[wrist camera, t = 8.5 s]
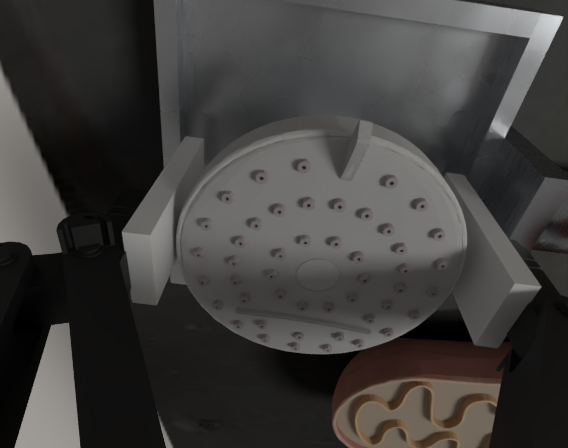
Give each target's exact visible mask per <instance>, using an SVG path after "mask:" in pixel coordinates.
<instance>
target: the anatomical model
mask: <svg viewBox="0 0 568 448" xmlns="http://www.w3.org/2000/svg"><path fill="white" fill-rule="evenodd" d="M511 348H512V345H511V343H510V342H502V343H501V345H500V346H499V347H498V348H492V347H484V346H476V345H474V343H473V342H464V341H447V340H430V339H413V338H395V339H392V340H390V341H388V342H385V343H382V344H379V345H376V346H373V347H370V348H367V349H364V350H362V351H360V352H359V353H358V354H357V355H356V356H355V357H354V358H353V359H352V360H351V361H350V362H349V364H348V365H347V366H346V367H345V369H344V370H343V372H342V374H341V376H340V378H339V380H338V383H337V385H336V388H335V391H334V395H333V402H332V424H333V430H334V432H335V434H336V436H337V437H338V438H339V439H340V440H341V441H342V442H343V443H344V444H345V445H346V446H347V447H349V448H489V444H490V439H491V433H492V428H493V423H494V418H495V412H496V407H497V402H498V396H499V391H500V386H501V381H502V375H503V370H504V368H502V369H501V370H500V371H499V372H498V371H496V368H497V367H498V365H499V364H500V362H501V361H502V360H503V358H504V357H505V356H506V354H507V353H508V352H509V350H510V349H511Z"/></svg>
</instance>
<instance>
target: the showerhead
mask: <svg viewBox="0 0 568 448" xmlns="http://www.w3.org/2000/svg"><path fill="white" fill-rule="evenodd" d="M466 251H467V230H466V223H465V219H464V216H463V212H462V209H461V207H460V205H459V202H458V200H457V198H456V196H455V195H454V193H453V192H452V190H451V188H450V187H449V185H448V184H447V182H446V181H445V179H444V178H443V176H442V175H441V174H440V172H439V171H438V169H437V168H436V167H435V166H434V164H433V163H432V162H431V161H430V160H429V159H428V157H427V156H426V155H425V154H424V153H423V152H422V151H421V150H420V149H419V148H417V147H416V146H415V145H413V144H412V143H411V142H410V141H408V140H407V139H405V138H403V137H402V136H400V135H398V134H397V133H395V132H393V131H391V130H389V129H386V128H384V127H382V126H379V125H376V124H374V123H373V122H371V121H366V120H361V119H356V118H351V117H343V116H334V115H311V116H300V117H294V118H288V119H284V120H280V121H276V122H273V123H270V124H267V125H264V126H261V127H259V128H257V129H255V130H253V131H250V132H248V133H246V134H245V135H243V136H241V137H240V138H238V139H236V140H235V141H233V142H232V143H231V144H230V145H228V146H227V147H226V148H225V149H223V150H222V151H221V152H220V153H219V154H218V155H217V156H216V157H215V158H214V159H213V160H212V161H211V162H210V163H209V165H208V166H207V167H206V168H205V170H204V171H203V173H202V174H201V176H200V177H199V179H198V181H197V182H196V184H195V186H194V188H193V189H192V191H191V193H190V195H189V196H188V198H187V200H186V202H185V204H184V206H183V209H182V212H181V214H180V217H179V221H178V226H177V232H176V253H177V258H178V263H179V267H180V270H181V273H182V275H183V278H184V280H185V282H186V284H187V286H188V288H189V290H190V291H191V293H192V294H193V295H194V297H195V298H196V300H197V301H198V302H199V304H200V305H201V306H202V307H203V308H204V309H205V310H206V311H207V312H208V313H209V314H210V315H211V316H212V317H213V318H214V319H216V320H217V321H218V322H220V323H221V324H223V325H224V326H226V327H227V328H228V329H230V330H231V331H233V332H235V333H237V334H239V335H241V336H243V337H245V338H247V339H249V340H251V341H253V342H256V343H259V344H262V345H265V346H268V347H271V348H275V349H279V350H283V351H289V352H297V353H305V354H336V353H346V352H351V351H356V350H362V349H367V348H370V347H373V346H376V345H379V344H382V343H385V342H388V341H390V340H392V339H395V338H397V337H399V336H401V335H403V334H405V333H406V332H408V331H410V330H411V329H413V328H415V327H416V326H418V325H419V324H421V323H422V322H423V321H424V320H425V319H427V318H428V317H429V316H430V315H432V314H433V313H434V312H435V311H436V310H437V309H438V308H439V307H440V305H441V304H442V303H443V302H444V301H445V299H446V298H447V297H448V296H449V295H450V293H451V292H452V290H453V288H454V286H455V284H456V283H457V281H458V279H459V277H460V274H461V272H462V269H463V266H464V262H465V258H466Z"/></svg>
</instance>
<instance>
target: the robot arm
mask: <svg viewBox="0 0 568 448" xmlns="http://www.w3.org/2000/svg"><path fill="white" fill-rule="evenodd" d="M203 171H204V139H203V138H195V137H188V136H185V138H184V139H183V141H182V142H181V144H180V145H179V147H178V148H177V150H176V151H175V153H174V154H173V156H172V157H171V159H170V160H169V162H168V163H167V165H166V166H165V168H164V169H163V171H162V172H161V174H160V175H159V177H158V178H157V180H156V181H155V183H154V184H153V186H152V187H151V189H150V190H149V192H148V191H140V190H133V189H132V190H130V191H128V192H127V193H125V194H123V195H122V196H120V197H119V199H118V200H117V201H116V202H115V204H114V206H113V207H112V208H111V209H110V210H109V212H108V214H106V215H104V214H102V213H97V212H81V213H77V214H73V215H71V216H69V217H67V218H65V219H63V220H62V221H61V222H60V223H59V224H58V227H57V234H58V238H59V242H60V245H61V249H62V252H61V253H55V254H44V255H32V253H31V250H30V249H29V247H28V246H27V245H25V244H22V243H20V242H5V243H0V448H14V447H15V443H16V440H17V437H18V434H19V430H20V427H21V423H22V420H23V417H24V414H25V410H26V407H27V403H28V400H29V397H30V394H31V390H32V387H33V384H34V380H35V377H36V373H37V370H38V367H39V363H40V360H41V357H42V353H43V350H44V347H45V344H46V340H47V337H48V333H49V330H50V327H51V325H55V324H62V323H69V325H70V337H71V348H72V359H73V370H74V381H75V391H76V403H77V414H78V425H79V435H80V446H81V448H166V446H165V442H164V438H163V434H162V430H161V426H160V422H159V418H158V414H157V410H156V406H155V402H154V398H153V394H152V390H151V386H150V382H149V378H148V374H147V370H146V366H145V362H144V358H143V354H142V350H141V346H140V342H139V338H138V334H137V330H136V326H135V322H134V318H133V314H132V310H131V306H130V302H129V298H128V293H129V291H130V292H131V298H132V302H134V303H142V304H150V305H157V303H158V301H159V299H160V296H161V294H162V292H163V289H164V287H165V285H166V282H167V280H168V278H169V275H170V273H171V271H172V268H173V266H174V264H175V262H176V259H177V253H176V232H177V226H178V221H179V217H180V214H181V212H182V209H183V206H184V204H185V202H186V200H187V198H188V196H189V195H190V193H191V191H192V189H193V188H194V186H195V184H196V182H197V181H198V179H199V177H200V176H201V174H202V173H203ZM444 179H445V181H446V182H447V184H448V185H449V187H450V188H451V190H452V192H453V193H454V195H455V196H456V198H457V200H458V202H459V205H460V207H461V209H462V212H463V216H464V219H465V223H466V230H467V251H466V258H465V262H464V266H463V269H462V272H461V274H460V277H459V279H458V281H457V283H456V284H455V286H454V288H453V290H452V293H453V295H454V298H455V300H456V302H457V305H458V307H459V310H460V312H461V314H462V317H463V319H464V321H465V324H466V326H467V329H468V331H469V333H470V336H471V338H472V341H473V343H474V345H476V346H484V347H492V348H498V347H499V346H500V345H501V343H502V342H503V340H504V339H505V338H506V336H507V337H508V339H509V341H510V343H511V345H512V348H511V349H510V350H509V352H508V353H507V354H506V356H505V357H504V358H503V360H502V361H501V362H500V364H499V365H498V367H497V368H496V371H498V372H499V371H500V370H501V369H502V368H504V370H503V375H502V381H501V386H500V391H499V396H498V402H497V407H496V412H495V418H494V423H493V428H492V433H491V439H490V444H489V448H568V297H565V296H561V295H560V294H559V292H558V291H557V290H556V288H555V287H554V285H553V284H552V283H551V281H550V280H549V279H548V277H547V276H546V275H545V273H544V272H543V270H541V268H540V266H539V265H538V264H537V262H535V260H534V258H533V257H532V255H531V254H530V253H529V251H528V250H527V249H526V248H525V247H523V246H522V245H521V244H520V243H518V242H517V241H516V240H512V239H508V238H507V236H506V235H505V233H504V232H503V230H502V229H501V228H500V226H499V225H498V223H497V222H496V220H495V219H494V217H493V216H492V215H491V213H490V212H489V210H488V209H487V207H486V206H485V205H484V203H483V202H482V200H481V199H480V197H479V196H478V194H477V193H476V192H475V190H474V189H473V187H472V186H471V184H470V183H469V181H468V180H467V179H466V177H465V176H464V175H461V174H454V173H447V172H446V174H445V176H444Z"/></svg>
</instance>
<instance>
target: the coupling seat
mask: <svg viewBox="0 0 568 448" xmlns="http://www.w3.org/2000/svg"><path fill="white" fill-rule="evenodd" d="M154 15H155V31H156V48H157V64H158V81H159V97H160V113H161V130H162V146H163V163H164V168H165V166H166V165H167V163H168V162H169V160H170V159H171V157H172V156H173V154H174V153H175V151H176V150H177V148H178V147H179V145H180V144H181V142H182V141H183V139H184V138H185V136H188V137H195V138H203V139H204V170H205V168H206V167H207V166H208V165H209V163H210V162H211V161H212V160H213V159H214V158H215V157H216V156H217V155H218V154H219V153H220V152H221V151H222V150H223V149H225V148H226V147H227V146H228V145H230V144H231V143H232V142H233V141H235V140H236V139H238V138H240V137H241V136H243V135H245V134H246V133H248V132H250V131H253V130H255V129H257V128H259V127H261V126H264V125H267V124H270V123H273V122H276V121H280V120H284V119H288V118H294V117H300V116H311V115H334V116H343V117H351V118H356V119H361V120H366V121H371V122H373V123H374V124H376V125H379V126H382V127H384V128H386V129H389V130H391V131H393V132H395V133H397V134H398V135H400V136H402V137H403V138H405V139H407V140H408V141H410V142H411V143H412V144H413V145H415V146H416V147H417V148H419V149H420V150H421V151H422V152H423V153H424V154H425V155H426V156H427V157H428V159H429V160H430V161H431V162H432V163H433V164H434V166H435V167H436V168H437V169H438V171H439V172H440V174H441V175H442V176H443V178H444V176H445V174H446V172H447V173H454V174H461V175H464V176H465V177H466V179H467V180H468V181H469V183H470V184H471V186H472V187H473V189H474V190H475V192H476V193H477V194H478V196H479V197H480V199H481V200H482V202H483V203H484V205H485V206H486V207H487V209H488V210H489V212H490V213H491V215H492V216H493V217H494V219H495V220H496V222H497V223H498V225H499V226H500V228H501V229H502V230H503V232H504V233H505V235H506V236H507V238H508V239H512V240H516V241H517V242H518V243H520V244H521V245H522V246H523V247H525V248H526V249H527V250H528V251H529V253H530V251H531V250H532V249H533V250H540V251H548V252H555V253H562V254H568V171H563V170H562V169H561V168H559V167H558V166H557V165H556V164H555V163H554V162H552V161H551V160H550V159H549V158H548V157H547V156H546V155H544V154H543V153H542V152H541V151H540V150H539V149H537V148H536V147H535V146H534V145H533V144H532V143H531V142H529V141H528V140H527V139H526V138H525V137H524V136H522V135H521V134H520V133H519V132H518V131H517V130H516V129H514V128H513V127H512V126H511V124H512V122H513V120H514V118H515V116H516V114H517V112H518V110H519V108H520V106H521V103H522V101H523V99H524V97H525V95H526V93H527V91H528V89H529V87H530V85H531V83H532V81H533V79H534V77H535V75H536V73H537V71H538V68H539V66H540V64H541V62H542V60H543V58H544V56H545V54H546V52H547V50H548V48H549V46H550V44H551V42H552V40H553V38H554V36H555V33H556V31H557V29H558V27H559V25H560V23H561V21H562V19H563V16H559V15H555V14H551V13H547V12H544V11H540V10H536V9H530V8H524V7H517V6H510V5H504V4H497V3H491V2H484V1H478V0H154ZM170 277H171V283H177V284H185V285H187V284H186V282H185V280H184V278H183V275H182V273H181V270H180V267H179V263H178V258H177V259H176V262H175V264H174V266H173V268H172V271H171V273H170Z"/></svg>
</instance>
